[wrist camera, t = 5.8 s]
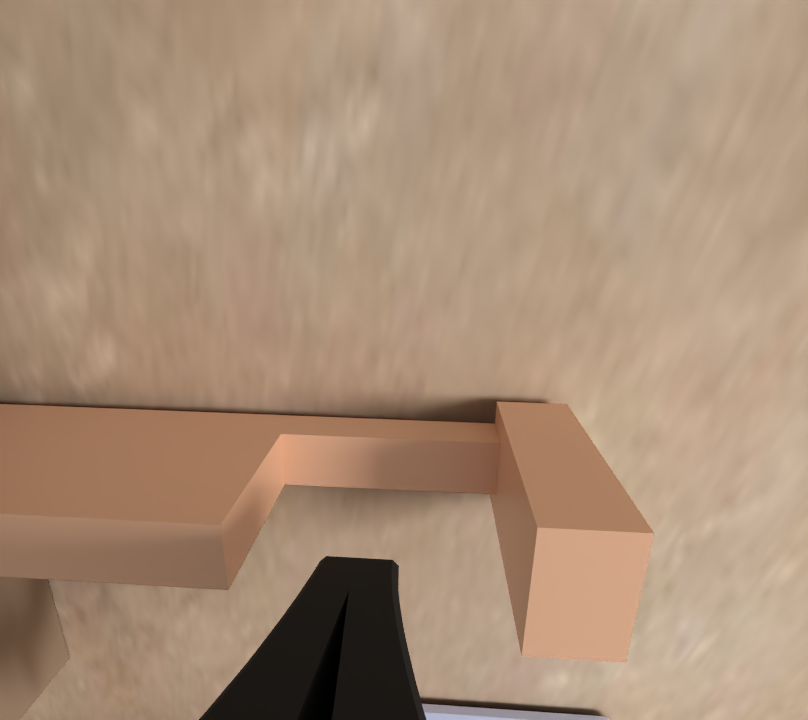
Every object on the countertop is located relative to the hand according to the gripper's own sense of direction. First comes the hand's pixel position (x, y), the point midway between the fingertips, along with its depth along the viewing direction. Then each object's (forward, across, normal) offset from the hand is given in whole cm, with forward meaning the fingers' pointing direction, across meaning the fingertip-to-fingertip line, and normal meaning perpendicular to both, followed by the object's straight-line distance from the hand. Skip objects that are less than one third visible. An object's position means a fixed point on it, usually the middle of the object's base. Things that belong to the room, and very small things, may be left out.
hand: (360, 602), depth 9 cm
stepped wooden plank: (+6, +6, 0) cm, 9 cm away
